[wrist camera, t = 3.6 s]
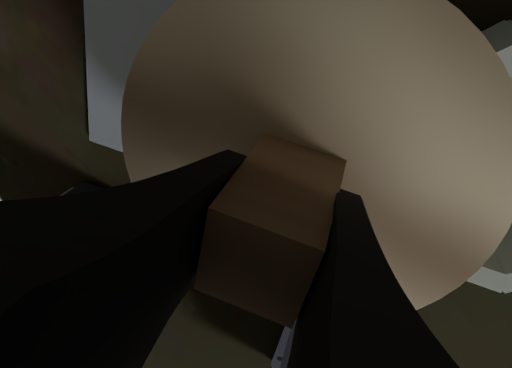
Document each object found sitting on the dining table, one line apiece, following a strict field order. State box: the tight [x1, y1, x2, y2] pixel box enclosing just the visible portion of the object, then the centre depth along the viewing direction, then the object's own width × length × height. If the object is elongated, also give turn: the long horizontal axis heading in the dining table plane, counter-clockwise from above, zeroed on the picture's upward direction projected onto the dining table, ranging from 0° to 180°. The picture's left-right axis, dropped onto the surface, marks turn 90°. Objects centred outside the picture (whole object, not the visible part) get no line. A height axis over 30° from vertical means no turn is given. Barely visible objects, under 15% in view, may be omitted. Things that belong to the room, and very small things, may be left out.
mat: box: [84, 0, 177, 152], centre depth 20 cm, size 14×14×1 cm
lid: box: [121, 0, 512, 329], centre depth 10 cm, size 12×12×5 cm
